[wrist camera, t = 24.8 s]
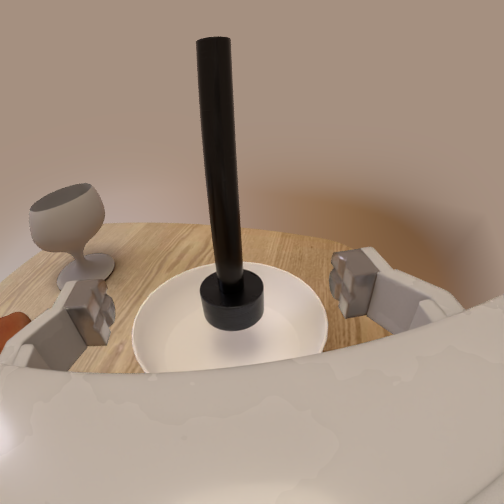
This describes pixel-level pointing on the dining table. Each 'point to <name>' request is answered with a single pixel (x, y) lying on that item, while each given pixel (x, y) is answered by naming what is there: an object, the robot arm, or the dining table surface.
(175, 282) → the bowl
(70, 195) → the chalice
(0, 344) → the burger
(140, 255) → the dining table surface
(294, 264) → the dining table surface
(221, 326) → the rod on round base
